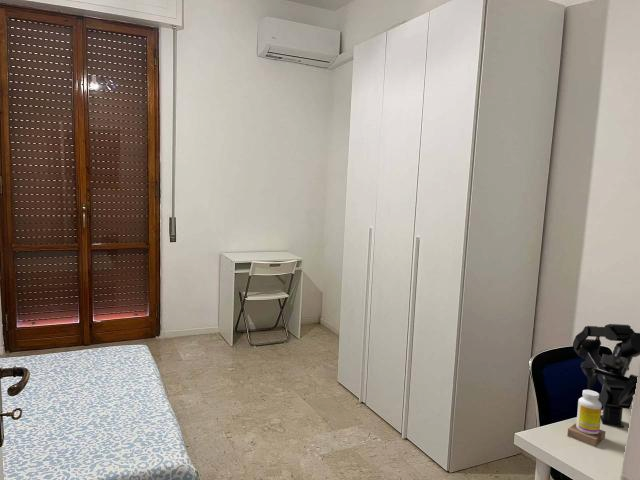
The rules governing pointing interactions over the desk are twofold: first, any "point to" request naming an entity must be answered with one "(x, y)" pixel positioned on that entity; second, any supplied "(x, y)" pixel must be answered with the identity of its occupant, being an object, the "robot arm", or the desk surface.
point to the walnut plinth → (586, 436)
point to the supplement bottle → (589, 412)
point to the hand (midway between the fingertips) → (603, 397)
